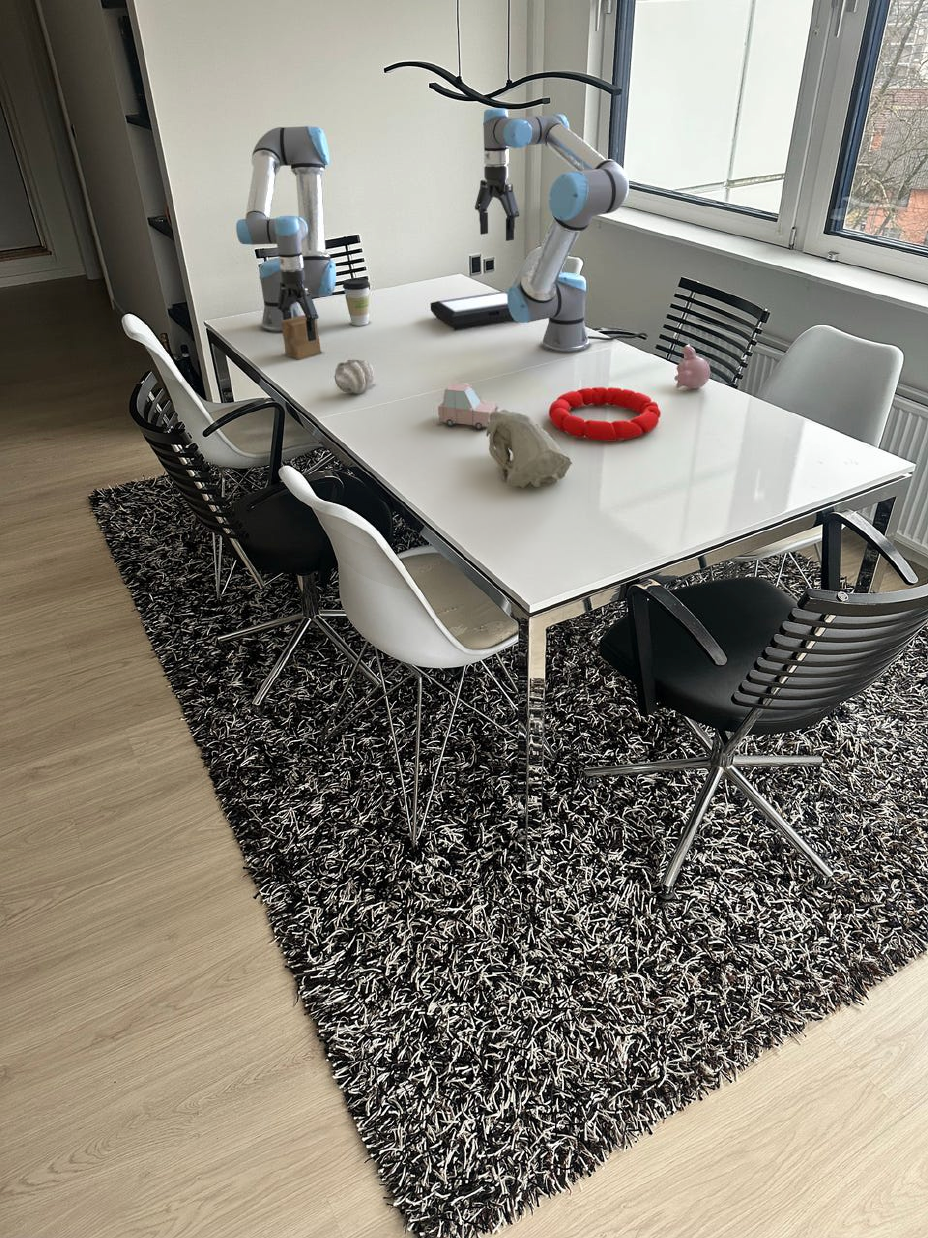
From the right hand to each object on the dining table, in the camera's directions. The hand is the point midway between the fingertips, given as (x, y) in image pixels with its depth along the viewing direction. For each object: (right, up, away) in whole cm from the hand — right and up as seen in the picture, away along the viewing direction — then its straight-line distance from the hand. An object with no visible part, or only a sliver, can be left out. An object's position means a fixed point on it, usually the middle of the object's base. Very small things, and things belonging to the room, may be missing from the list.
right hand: (496, 236), depth 292 cm
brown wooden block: (-65, -36, +8) cm, 75 cm away
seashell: (-43, -57, -24) cm, 76 cm away
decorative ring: (+27, -72, -48) cm, 91 cm away
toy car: (-10, -71, -46) cm, 86 cm away
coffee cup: (-49, -17, +35) cm, 62 cm away
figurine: (+56, -58, -29) cm, 86 cm away
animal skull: (+3, -89, -72) cm, 114 cm away
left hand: (-65, -31, +4) cm, 72 cm away
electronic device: (-4, -15, +35) cm, 39 cm away
